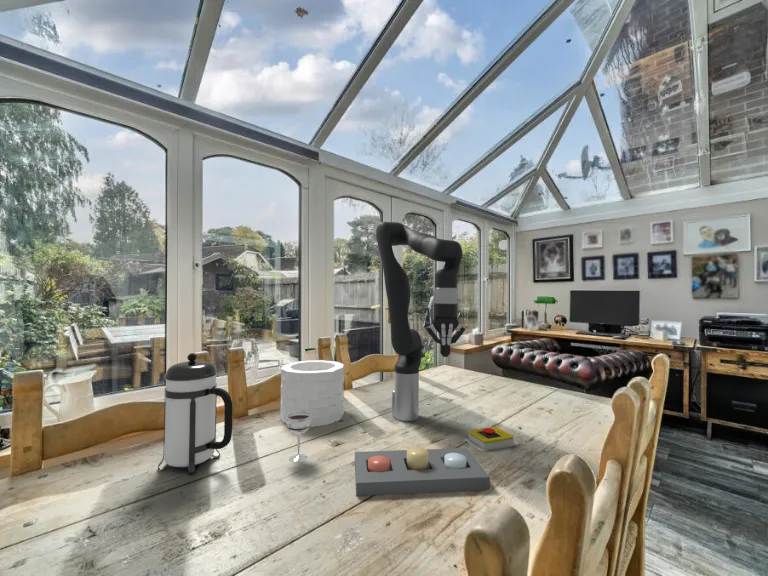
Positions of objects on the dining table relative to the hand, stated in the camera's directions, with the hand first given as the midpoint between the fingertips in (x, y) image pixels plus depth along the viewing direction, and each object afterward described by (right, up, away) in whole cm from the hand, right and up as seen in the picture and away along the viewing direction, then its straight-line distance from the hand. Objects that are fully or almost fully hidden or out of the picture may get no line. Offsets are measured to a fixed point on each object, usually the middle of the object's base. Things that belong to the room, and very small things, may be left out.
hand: (445, 356), depth 113 cm
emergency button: (+15, -28, 0) cm, 32 cm away
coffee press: (-71, -26, -16) cm, 78 cm away
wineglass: (-44, -27, -13) cm, 53 cm away
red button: (-21, -26, -22) cm, 40 cm away
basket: (-47, -27, +22) cm, 58 cm away
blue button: (-1, -27, -20) cm, 33 cm away
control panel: (-11, -27, -21) cm, 36 cm away
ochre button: (-11, -25, -21) cm, 34 cm away
